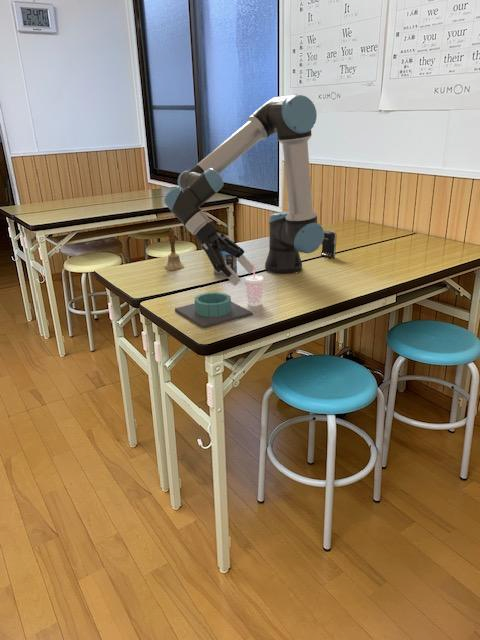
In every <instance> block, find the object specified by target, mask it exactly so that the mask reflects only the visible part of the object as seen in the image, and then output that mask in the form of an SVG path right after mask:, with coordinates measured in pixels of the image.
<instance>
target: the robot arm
mask: <svg viewBox="0 0 480 640" xmlns="http://www.w3.org/2000/svg"><path fill="white" fill-rule="evenodd" d="M316 122H317V109H316V105H315V104H314V101H312V100H311V99H310V98H309V97H308V96H306V95H302V94H291V95H281V96H274V97H273V98H271V99H269V100H267V101H266V102H265V103H264V104H263V105H261V106H260V107H259V108H257V110H255V111H254V112H253V113H252V114H250V116H248V121H247V122H246V123H244V124H243V125H242V126H241V127H240V128H238V130H236V131H235V132H234V133H232V135H230V136H228V138H226V139H225V140H224V141H223V142H221V144H219V146H217V147H215V149H214V150H212V151H211V152H210V153H208V154H207V155H206V156H205V157H204V158H203V159H201V160H200V161H199V162H198V163H196V164H195V165H194V166H193V167H192V168H190V169H189V170H185V171H182V172H181V173H180V174H179V176H178V178H177V185H178V186H174V188H171V190H169V192H167V194H166V195H165V197H164V199H163V200H164V201H163V202H164V204H165V205H166V207H167V208H168V209H169V211H171V212H170V213H172V214H173V215H174V216H175V218H176V219H178V221H180V223H181V224H182V225H183V226H184V227H185V228H186V229H187V232H189V233H190V234H191V235H193V236H194V238H195V239H196V240H197V242H198V243H199V244H200V245H201V248H202V250H203V251H204V253H205V254H206V256H207V257H208V259H209V262H210V263H211V266H212V267H213V270H214V269H215V270H216V271H218V272H220V271H222V272H223V273H224V274H225V277H226V278H227V279H228V280H229V281H230V282H231V283H232V285H234V286H237V285H238V284H239V283H240V282H241V281H242V279H241V278H240V277H239V275H238V274H236V273H235V272H234V271H233V270H232V269H231V268H230V267H229V266H228V265H225V262H224V259H223V256H222V253H221V251H225V252H227V253H229V254H231V255H233V256H234V257H236V258H237V263H239V264H240V265H241V266H242V267H243V269H244V270H245V271H246V272H247V273H248V274H249V275H251V273H253V264H252V263H251V262H250V260H249V259H248V258H247V257H246V256H245V255H244V254H245V251H244V249H243V248H242V247H240V246H239V245H238V244H237V243H236V244H235V242H234V241H232V240H231V239H230V238H228V237H227V236H226V235H225V234H224V233H222V232H221V234H220V235H219V234H218V233H217V232H218V231H219V228H218V226H216V224H214V223H213V221H210V217H208V215H206V213H205V212H204V211H202V209H201V208H200V207H201V206H202V205H204V204H205V203H206V202H207V201H209V200H210V199H211V198H212V197H213V196H214V195H216V193H218V192H219V191H220V190H221V189H222V188H223V187H224V181H223V178H222V176H221V175H220V174H221V173H222V172H224V171H225V170H226V169H227V168H228V167H230V166H231V165H232V164H233V163H235V162H236V161H237V160H238V159H239V158H240V157H241V156H243V155H244V154H245V153H246V152H248V151H249V150H250V149H251V148H252V147H253V146H256V144H257V143H258V142H260V141H261V140H265V141H266V140H267V139H268V138H269V137H270V136H272V135H274V134H277V141H278V142H279V143H281V144H282V150H283V162H284V171H285V181H286V182H285V183H286V192H287V202H288V211H283V212H274V213H271V214H270V216H269V221H268V224H269V225H268V226H269V227H268V228H269V229H268V230H269V238H268V239H269V242H268V244H269V245H268V247H269V251H268V254H267V256H266V257H267V258H266V260H265V263H264V270H265V271H267V272H268V273H272V274H279V275H288V274H289V275H291V274H296V272H297V273H299V272H301V271H302V270H303V262H302V259H301V255H300V253H303V254H311V253H314V252H316V251H317V250H318V249H319V248H320V247H321V246H322V242H323V239H324V231H325V230H324V228H323V227H322V225H321V224H320V223H318V222H319V221H318V214H317V212H315V211H314V209H313V200H312V186H311V185H312V184H311V170H310V160H309V159H310V157H309V145H308V144H309V143H308V142H309V140H310V138H312V129H313V128H314V127H315V124H316ZM216 265H217V266H216ZM255 270H256V267H255ZM224 274H223V275H224Z"/></svg>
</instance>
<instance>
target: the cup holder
mask: <svg viewBox="0 0 480 640" xmlns="http://www.w3.org/2000/svg"><path fill="white" fill-rule="evenodd" d="M174 311H175V313H177V314H179V315H180V316H182V317H184V318H185V319H187V320H189V321H190V322H192V323H193V324H195V325H197V326H198V327H200V329H203V328H204V329H208V328H211V327H214V326H218V325H221V323H222V324H225V322H226V323H228V321H229V322H232V320H233V321H236V319H237V320H240V319H243V317H244V318H247V317H251V316H253V312H252V311H251V310H249V309H247V308H245V307H243V306H241V305H239V304H238V303H235V302H233V301H232V298H231V296H230V295H229V294H227V293H223V292H217V291H215V292H205V293H200V294H198V295H196V296H194V303H191V304H187V305H183V306H179V307H175V308H174ZM250 315H251V316H250Z"/></svg>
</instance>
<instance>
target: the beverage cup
mask: <svg viewBox="0 0 480 640" xmlns="http://www.w3.org/2000/svg"><path fill="white" fill-rule="evenodd" d="M252 265H253V271H252V273H253V275H248V276H246V277H244V281H245V287H246V298H247V305H248V306H250V307H251V306H252V307H258V305H259V306H261V305H262V296H263V284H264V276H262V275H257V274H256V269H255V268H256V263H255V262H253V264H252ZM260 304H261V305H260Z"/></svg>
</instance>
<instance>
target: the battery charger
mask: <svg viewBox="0 0 480 640" xmlns="http://www.w3.org/2000/svg"><path fill="white" fill-rule="evenodd" d="M321 248H322V249H321V253H320V256H321V257H323V256H326V257H325V258H327V257H334V258H335V257H336V250H337V249H336V248H337V233H336V232H335V231H332V230H324V239H323V242H322V244H321Z"/></svg>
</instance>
